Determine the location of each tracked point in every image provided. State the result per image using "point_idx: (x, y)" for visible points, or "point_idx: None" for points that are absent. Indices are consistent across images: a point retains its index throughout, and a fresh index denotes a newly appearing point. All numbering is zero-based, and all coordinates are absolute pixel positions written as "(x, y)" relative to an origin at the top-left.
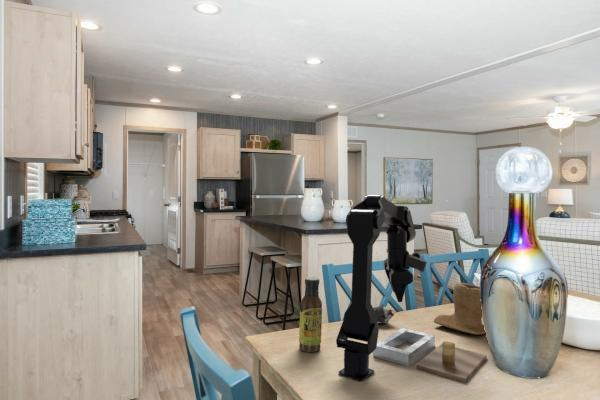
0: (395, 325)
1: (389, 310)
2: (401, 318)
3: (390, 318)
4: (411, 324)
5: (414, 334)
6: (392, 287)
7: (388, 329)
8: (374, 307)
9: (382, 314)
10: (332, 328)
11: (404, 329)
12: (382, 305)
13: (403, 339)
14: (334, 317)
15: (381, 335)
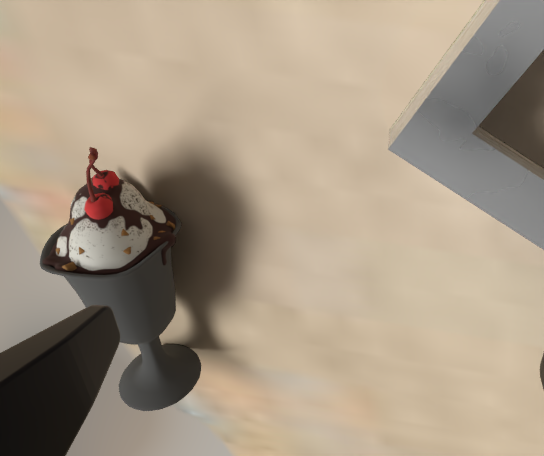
0: (152, 140)
1: (102, 217)
2: (6, 81)
3: (132, 186)
4: (96, 22)
5: (530, 59)
6: (84, 410)
7: (238, 194)
8: None
9: (155, 257)
10: (282, 438)
11: (425, 137)
12: (81, 277)
13: (495, 140)
14: None
15: (354, 250)
